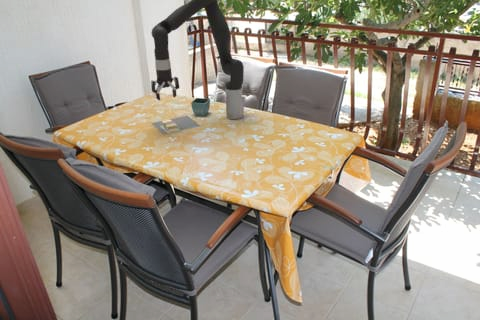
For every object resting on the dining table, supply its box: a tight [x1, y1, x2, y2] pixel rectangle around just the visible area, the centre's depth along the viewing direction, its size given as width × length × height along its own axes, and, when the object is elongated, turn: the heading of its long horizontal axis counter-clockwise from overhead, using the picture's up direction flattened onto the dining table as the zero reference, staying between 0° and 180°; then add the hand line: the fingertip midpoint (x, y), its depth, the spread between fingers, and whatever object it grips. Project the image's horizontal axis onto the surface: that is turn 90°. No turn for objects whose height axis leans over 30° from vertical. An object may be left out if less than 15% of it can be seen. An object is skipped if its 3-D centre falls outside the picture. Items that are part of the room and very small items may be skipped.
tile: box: [161, 118, 178, 133], centre depth 218 cm, size 10×5×3 cm, turn 30°
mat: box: [150, 115, 201, 135], centre depth 224 cm, size 22×19×1 cm
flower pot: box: [190, 97, 211, 117], centre depth 236 cm, size 9×9×9 cm
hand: (166, 98), depth 211 cm, fingers open, 8 cm apart
